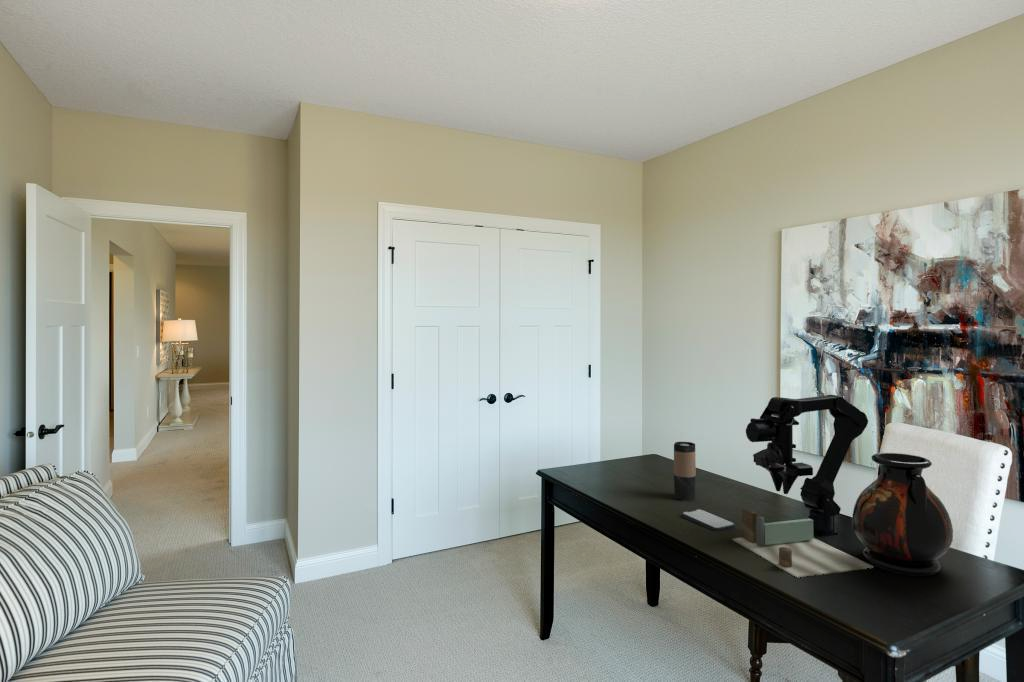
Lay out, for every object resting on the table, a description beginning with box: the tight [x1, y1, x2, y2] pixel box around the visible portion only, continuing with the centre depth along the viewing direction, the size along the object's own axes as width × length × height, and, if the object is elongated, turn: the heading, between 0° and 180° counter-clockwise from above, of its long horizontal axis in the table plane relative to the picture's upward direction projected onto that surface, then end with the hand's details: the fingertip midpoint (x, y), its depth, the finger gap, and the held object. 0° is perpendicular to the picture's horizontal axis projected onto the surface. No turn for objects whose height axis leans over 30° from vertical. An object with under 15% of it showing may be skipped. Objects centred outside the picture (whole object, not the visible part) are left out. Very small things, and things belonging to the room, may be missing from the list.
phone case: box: [681, 508, 736, 532], centre depth 180 cm, size 9×2×16 cm
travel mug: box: [673, 441, 697, 501], centre depth 205 cm, size 8×8×20 cm
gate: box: [756, 516, 814, 546], centre depth 160 cm, size 18×2×8 cm, turn 103°
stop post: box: [779, 547, 792, 567], centre depth 146 cm, size 3×3×4 cm
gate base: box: [732, 507, 875, 579], centre depth 154 cm, size 23×26×9 cm
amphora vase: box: [852, 452, 954, 577], centre depth 146 cm, size 22×22×28 cm
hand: (781, 492), depth 167 cm, fingers open, 3 cm apart
